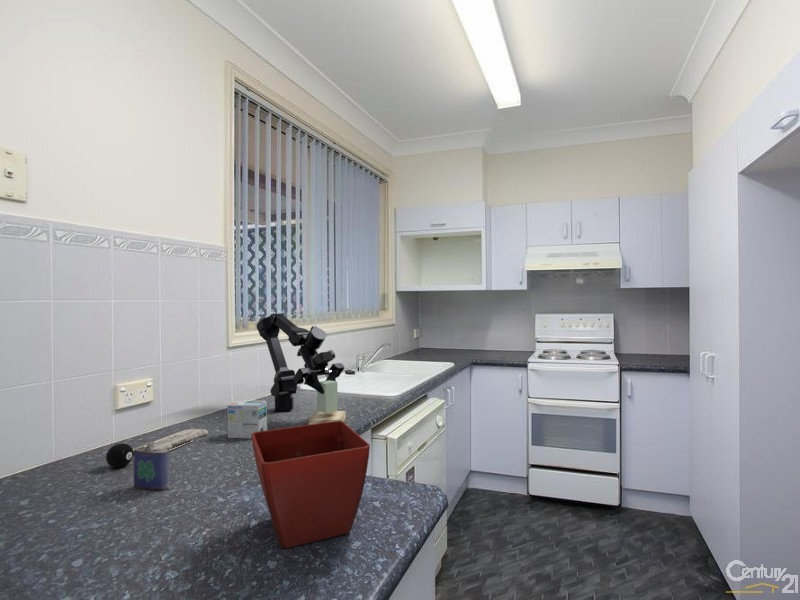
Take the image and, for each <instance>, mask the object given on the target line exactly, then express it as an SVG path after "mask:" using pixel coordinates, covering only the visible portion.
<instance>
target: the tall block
mask: <svg viewBox="0 0 800 600" xmlns="http://www.w3.org/2000/svg"><path fill="white" fill-rule="evenodd" d="M319 382H320V384H321V386H322V388H323V390H324V394H321V393H320V392H318V391H317V390H316V392H317V394H316V395H317V400H316V401H317V411H321V412H324V413H328V412H333V411H339V409H338V408H339V407H338V406H339V405H338V402H339V400H338V393H339V391H338V381H337V380H336V381H331V380H327V381H326V380H320V381H319Z"/></svg>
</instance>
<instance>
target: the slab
mask: <svg viewBox="0 0 800 600" xmlns="http://www.w3.org/2000/svg"><path fill="white" fill-rule="evenodd" d="M345 419H346V420H347V411H346V410H337V411H333V412H328V413H324V412H321V411H318V410H317V411H316V410H315V411H314V413H313V414H312V415H311V417H310V418H309V419H308V425H311V424H318V423H326V422H333V421H343V422H344V423H346V420H345Z"/></svg>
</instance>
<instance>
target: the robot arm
mask: <svg viewBox="0 0 800 600" xmlns="http://www.w3.org/2000/svg"><path fill="white" fill-rule="evenodd" d="M256 330H257V331H258V334H259V337H261V339H263V340H265V342H266V345H267V348H268V352H269V355H270V358H271V362H272V365H273V368H274V372H275V374H274V377H273V384H272V387H271V389H270V390H269V392H270V395H271V396H273V397H274V410H273V412H274V413H277V412H278V413H281V412H282V413H284V412H285V413H286V412H291V411H292V410H294V408H295V400H294V399H295V397H293V395H294V394H295V395H296V393H297V389H298V385H301V384H302V385H303V384H304V386H305V385H306V386H308V387H310V388H312V389H314V390H315V391H316V392H317V391H318V392H320V393H321V394H324V390H323V388H322V386H321V384H320V382H321V381H320V380H319V376H320V377H321V376H325V377H326V379H325V381H327V380H331V381H336V382H337V380H336V379H337V378H339V377H340V376H341V374H342V373H343V371H344V370H345V366H344V364H343V363H341V362H339V363H337V362H336V363H332V364H331V366H330V367H329V368H327V367H328V366H329V363H330V362H331V361H333V360H334V359H336V353H335V352H334V350H333V349H329V350H328V351H322V352H318V350H319V349H320V348H321V346H322V345H323V343H324V341H325V340H326V338H327V333H326V331H324V330H323V329H322V328H319V327H318V326H317V325H312V326H311V328H310V330H308V329H306V328H303V327H299V326H297V325H296V324H295V323H293V322H292V321H291V320H290V319H288V318H287V317H286V316H285V314H284V313H272V314H270V315H269V316H266V317H264V318H262V319H259V320H258V321H257V323H256ZM280 331H282V332H283V333H284V334H285V335H286V336H287V337H288V341H289V343H290V344H291V346H293V347H299V349H298V351H297V352H296V357H301V358H302V360H303V362H304V364H303V366H304V367H302V368H298V369H297V371H295V370H294V369H290V368H288V364H287V362H286V358H285V354H284V352H283V348H282V346H281V343H280V339H279V333H280Z"/></svg>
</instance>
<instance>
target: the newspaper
mask: <svg viewBox="0 0 800 600" xmlns="http://www.w3.org/2000/svg"><path fill="white" fill-rule="evenodd" d="M208 434H209V431H208V430H206V429H203V428H202V429H199V428H196V429H195V428H192V429H183V430H181V431H179V432H175V433H173V434H170V435H168V436H165V437H161V438H160V439H157V440H154V441H151V442H150V443H152V442H155V444H154V445H153V446H154V447H153V449H167V450H168V449H169V450H168V452H170V451H172V450H175V449H177V448H179V447H181V446H184V445H186V444H189V443H191V442H194V441H193V440H192V439H195V438H198V437H199V438H200V437H202V436H203V437H204V436H206V435H208ZM190 440H192V441H190ZM188 441H190V442H188ZM185 442H187V443H185ZM183 443H184V444H183ZM179 444H180V445H179ZM181 444H182V445H181ZM178 445H179V446H178ZM142 446H144V447H147V445H145V444H143V445H141V446H138V447H137V448H139V447H142ZM176 446H177V447H176ZM173 447H174V448H173ZM171 448H172V449H171ZM132 449H133V453H134V449H135V448H132Z"/></svg>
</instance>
